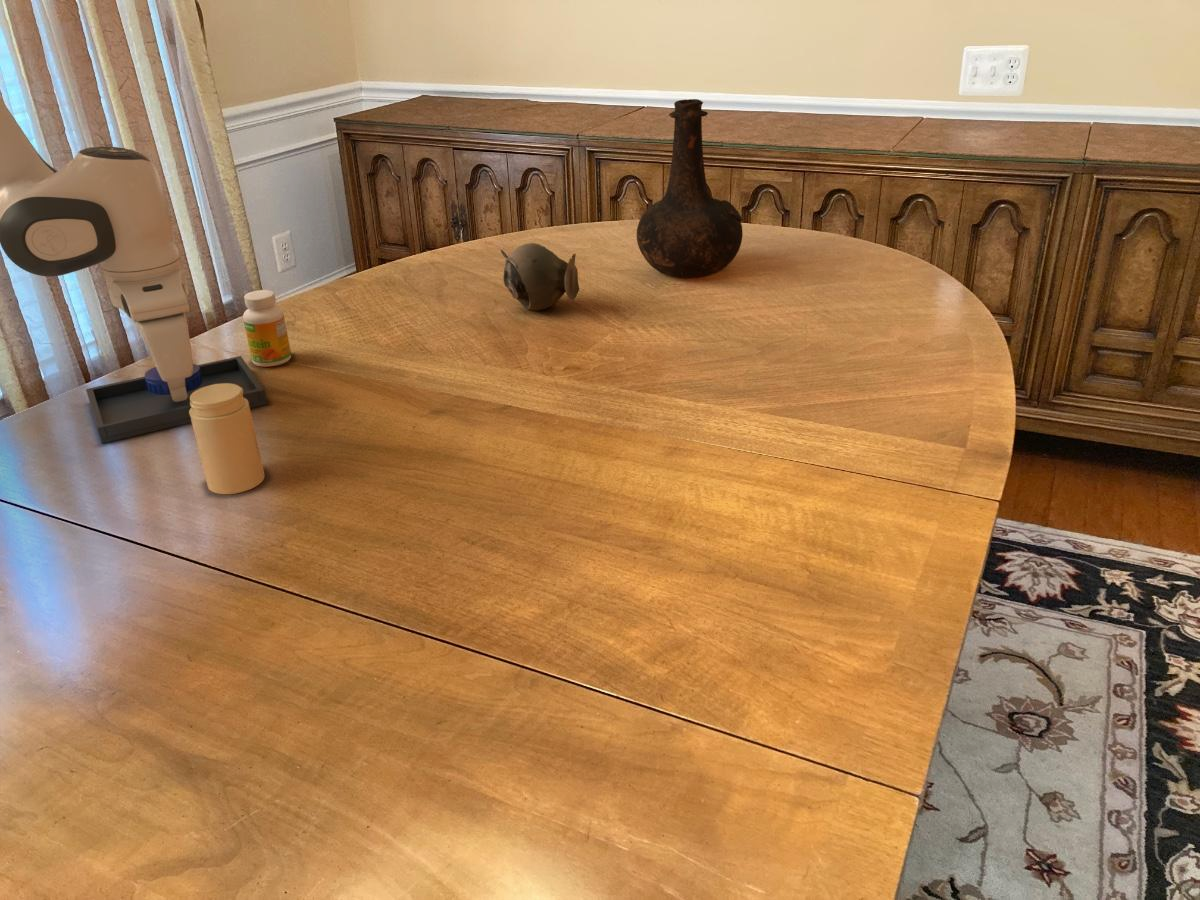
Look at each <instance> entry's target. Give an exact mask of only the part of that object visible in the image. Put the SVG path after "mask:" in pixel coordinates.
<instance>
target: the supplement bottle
mask: <svg viewBox="0 0 1200 900" xmlns="http://www.w3.org/2000/svg"><path fill="white" fill-rule="evenodd" d="M243 298H244V304H245V307H246V308H247V309H246V310H245V311H243V314H242V319H243V325H244V330H245V333H246V338H247V344H248V348H249V354H250V358H251V362H252V363H253V364H254V366H257V367H276V366H280V365H284V364H285V363H287V362H289V361H290V360H291V357H292V352H291V345H290V341H289V335H288V329H287V324H286V320H285V319H286V318H285V314H284V310H283V309H282V308H281V307H280V306H279V305H276V303H277V299H276V295H275V292H274V291H273V290H269V289H259V290H258V289H257V290H253V291H250V292H248V293H245V294H244V296H243Z"/></svg>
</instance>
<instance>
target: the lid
mask: <svg viewBox="0 0 1200 900" xmlns="http://www.w3.org/2000/svg"><path fill="white" fill-rule="evenodd" d="M197 365H198V364H195V363H193V374H192V376H190V377H187V378H185V388H186V392H188V391H191V390H194V389H196V388H198V387H199V386H200V385H201V384H202V382H203V381H202V376H201V372H200V368H199V366H197ZM144 376H145V383H146V388H147V390H148V391H149V392H150V393H153V394H158V395H170V391H169V387H168V384H167V382H165V381H163V380H162V379H161V377H160V375H159V373H158V371H157V368H156V366H155V367H152V368H150V369H148V370H147V371H145V373H144Z"/></svg>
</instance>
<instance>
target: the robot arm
mask: <svg viewBox="0 0 1200 900" xmlns="http://www.w3.org/2000/svg"><path fill="white" fill-rule="evenodd" d="M167 199H168V198H167V195H166V193H165V189H164V186H163V183H162V180H161V177H160V175H159V173H158V171H157V168H156V166H155V164H154V163H153V162H152V161H151V160H150V159H149V158H148V157H147V156H145V155H144V154H142V153H141V152H139V151H136V150H134V149H132V148H131V149H130V148H129V149H128V148H125V147H118V146H117V147H116V146H92V147H85V148H84V149H80V150H79V151H78V152H77V153H76V156H74V157H73V158H72V160H70V161H69V162H68V163H66V164H65V165H64V166H63V167H62V168H60V169H59V170H57V169H56V168H54V167H53V166H52V165H50V164H48V163H47V162H46V161H45V159H43V157H42V156H41V155H40V154H39V152H38V151H37V150H36V148H35V147H34V145H33V144H32V143H31V141H30V140H29V138H28V137H27V135H26V134H25V132H24V131H23V129H22V128H21V126H20V125H19V123H18V122H17V121H16V119H15V117H14V116H13V114H12V113H11V111H10V110H9V108H8V106H7V105H6V104H5V102H4V101H3V100H2V98H1V97H0V247H1V249H2V250H3V253H5V255H6V257H8V259H9V260H10V262H12V263H13V264H14V265H16V266H17V267H18V268H20V269H22V270H23V271H25V272H27V273H30V274H33V275H35V276H40V277H60V276H64V275H68V274H71V273H75V272H78V271H81V270H84V269H87V268H90V267H93V266H95V265H96V266H97V265H98V264H100V266H101V270H102V272H103V277H104V281H105V284H106V288H107V291H108V295H109V298H110V303H111V305H113V306H114V307H115V308H117V309H119V310H121V311H122V312H124V313H125V315H126V316H127V317H128V318H129V319H130V320H131V321H132V322H133V323H134V324H135V326H136V327H137V329H138V332H139V334H140V337H141V338H142V340H143V342H144V345H145V347H146V349H147V351H148V353H149V356H150V357H151V360H152V362H153V364H154V366H155V367H156V368H157V371H158V373H159V375H160V377H161V379H162V380H163V381H165V382H167V384H168V387H169V391H170V395H171V397H172V400H173V401H175V402H178V401H183V400H186V399H187V397H188V396H187V392H186V388H185V378H187V377H190V376H192V374H193V364H194V359H193V352H192V345H191V338H190V332H189V325H188V320H187V317H186V313H188V312H190V304H189V299H188V295H189V293H190V289H189V285H188V281H187V276H186V273H185V268H184V264H183V260H182V255H181V252H180V250H179V248H178V246H177V244H176V242H175V240H174V238H173V232H172V228H173V218H172V215H171V211H170V206H169V204H168V203H169V202H168V200H167Z"/></svg>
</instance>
